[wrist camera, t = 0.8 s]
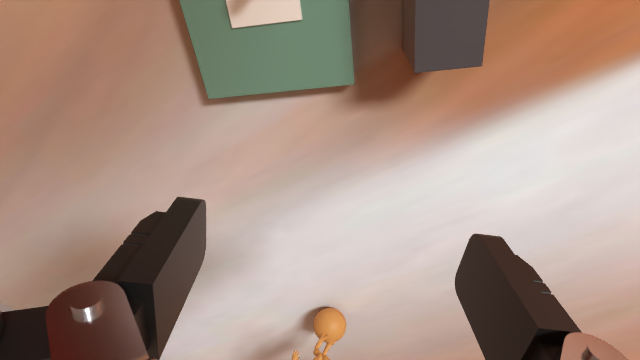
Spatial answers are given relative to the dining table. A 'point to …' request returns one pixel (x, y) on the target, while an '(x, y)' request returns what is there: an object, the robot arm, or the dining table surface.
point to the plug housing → (444, 33)
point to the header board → (270, 44)
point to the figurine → (327, 331)
